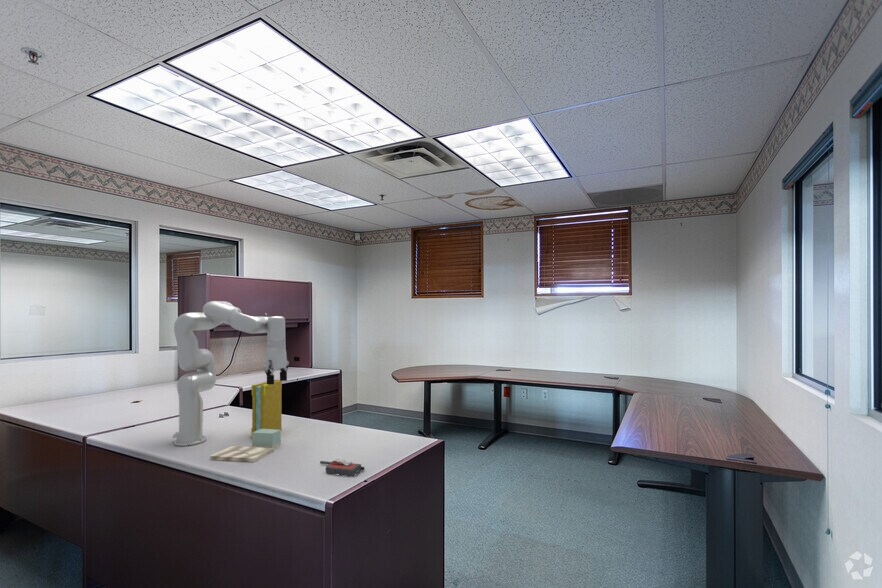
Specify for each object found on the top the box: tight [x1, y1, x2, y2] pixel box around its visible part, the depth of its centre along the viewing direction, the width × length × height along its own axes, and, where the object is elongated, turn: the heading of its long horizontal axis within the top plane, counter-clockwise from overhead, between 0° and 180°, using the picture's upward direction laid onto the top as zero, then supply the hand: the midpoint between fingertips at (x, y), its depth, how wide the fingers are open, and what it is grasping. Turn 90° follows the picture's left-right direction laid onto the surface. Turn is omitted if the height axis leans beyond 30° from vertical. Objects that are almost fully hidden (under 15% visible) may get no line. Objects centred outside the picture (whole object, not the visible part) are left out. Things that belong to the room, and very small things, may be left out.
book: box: [250, 379, 283, 438], centre depth 205 cm, size 17×7×25 cm, turn 168°
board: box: [209, 445, 274, 463], centre depth 172 cm, size 20×13×2 cm, turn 78°
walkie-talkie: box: [319, 458, 365, 477], centre depth 154 cm, size 9×4×20 cm
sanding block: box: [251, 429, 282, 450], centre depth 183 cm, size 10×6×7 cm, turn 78°
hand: (277, 382), depth 184 cm, fingers open, 9 cm apart
